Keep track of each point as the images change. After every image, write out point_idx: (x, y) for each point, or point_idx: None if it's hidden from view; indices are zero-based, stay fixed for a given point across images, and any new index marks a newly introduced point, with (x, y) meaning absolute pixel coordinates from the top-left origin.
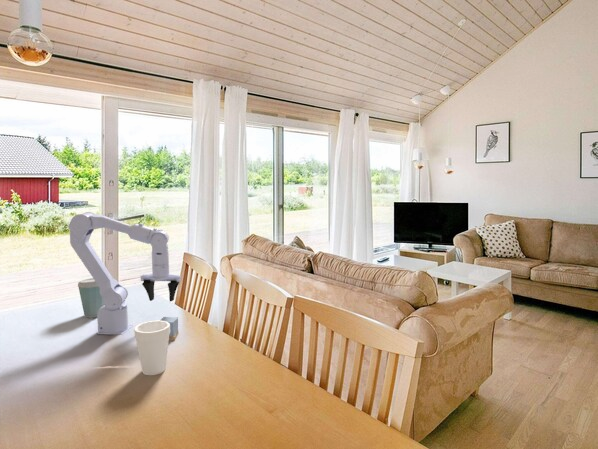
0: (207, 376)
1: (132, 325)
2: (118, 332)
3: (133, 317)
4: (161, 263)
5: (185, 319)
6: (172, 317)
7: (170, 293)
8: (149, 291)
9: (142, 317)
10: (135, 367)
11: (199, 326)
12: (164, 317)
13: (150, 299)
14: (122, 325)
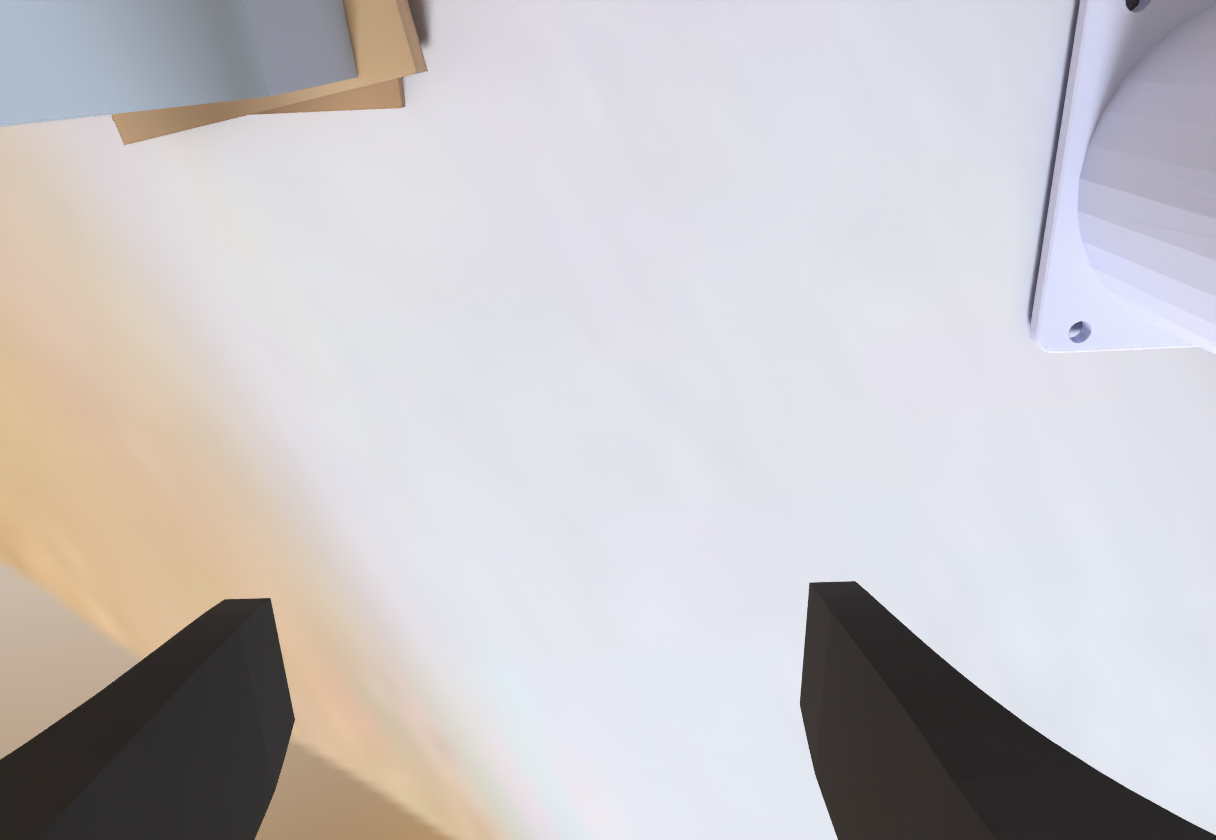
0: None
1: (1048, 347)
2: (1180, 26)
3: (1148, 661)
4: None
5: (389, 681)
6: (41, 95)
7: (90, 741)
8: (932, 746)
9: (1021, 675)
10: None
11: (39, 481)
12: (226, 58)
13: (839, 595)
14: (1186, 88)
